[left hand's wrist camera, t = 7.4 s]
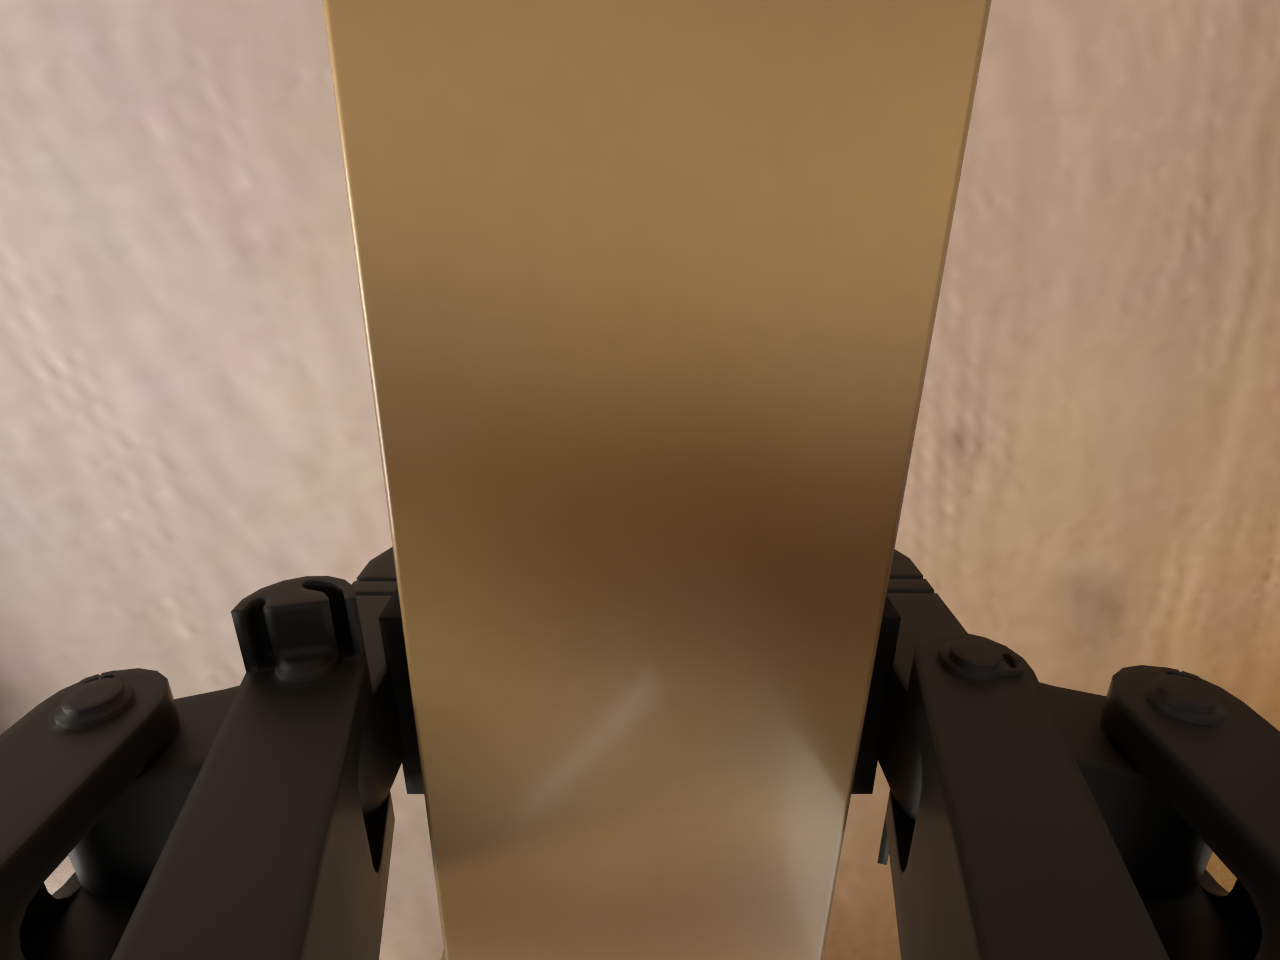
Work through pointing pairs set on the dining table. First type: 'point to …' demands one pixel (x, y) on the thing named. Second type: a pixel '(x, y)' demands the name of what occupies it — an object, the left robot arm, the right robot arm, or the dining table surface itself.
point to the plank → (646, 435)
